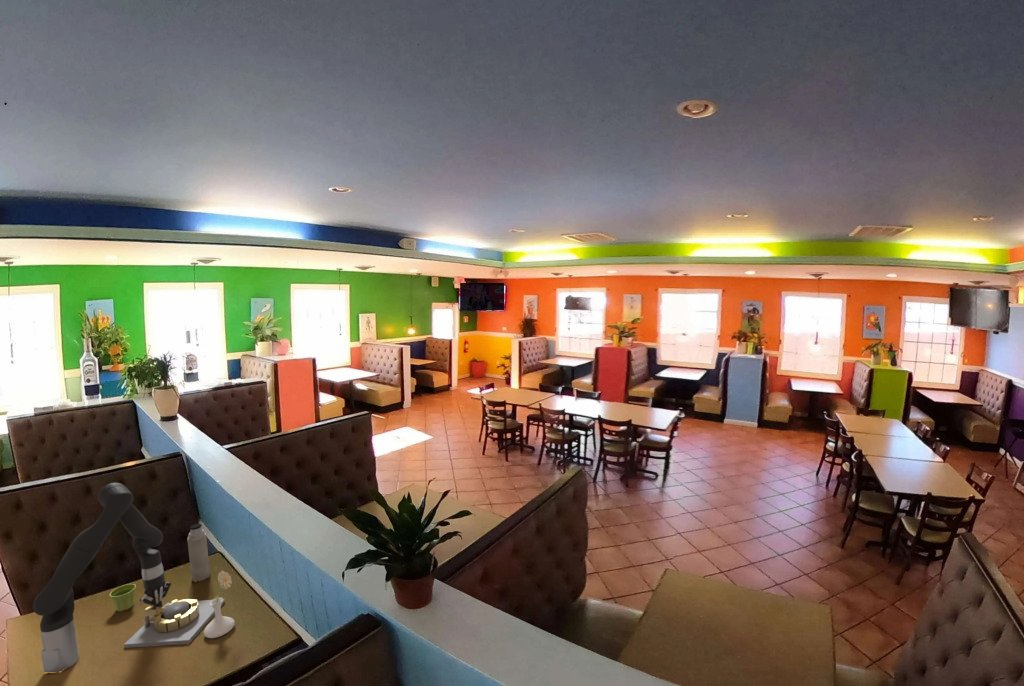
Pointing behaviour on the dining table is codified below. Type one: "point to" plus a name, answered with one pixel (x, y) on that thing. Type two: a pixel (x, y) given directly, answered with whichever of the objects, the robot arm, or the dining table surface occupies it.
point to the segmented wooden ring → (176, 622)
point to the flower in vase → (220, 622)
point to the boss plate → (179, 636)
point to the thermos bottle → (198, 553)
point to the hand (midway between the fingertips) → (158, 609)
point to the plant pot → (123, 597)
